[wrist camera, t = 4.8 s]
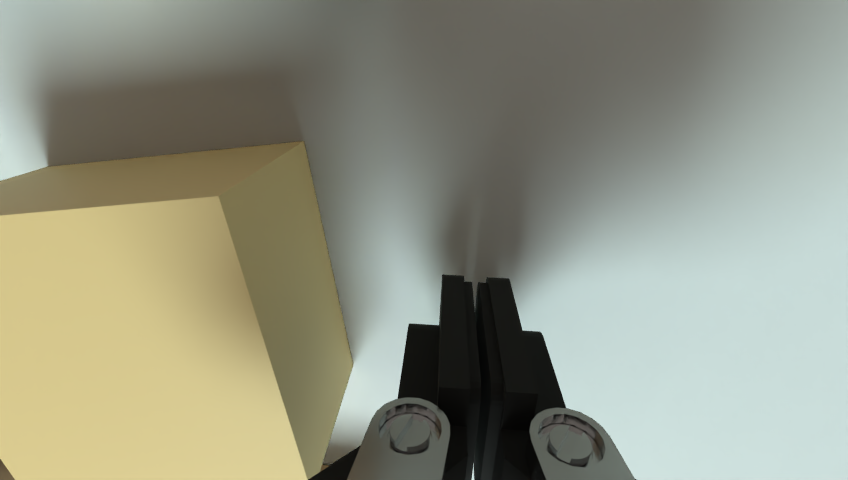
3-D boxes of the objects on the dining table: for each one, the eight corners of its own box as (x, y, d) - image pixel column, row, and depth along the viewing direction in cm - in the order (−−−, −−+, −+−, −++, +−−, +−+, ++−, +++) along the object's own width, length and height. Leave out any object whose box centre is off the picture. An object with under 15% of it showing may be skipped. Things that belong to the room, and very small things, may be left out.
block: (306, 139, 11) (218, 196, 7) (354, 361, 14) (312, 495, 10) (54, 164, 12) (-162, 230, 8) (149, 370, 14) (29, 499, 10)
